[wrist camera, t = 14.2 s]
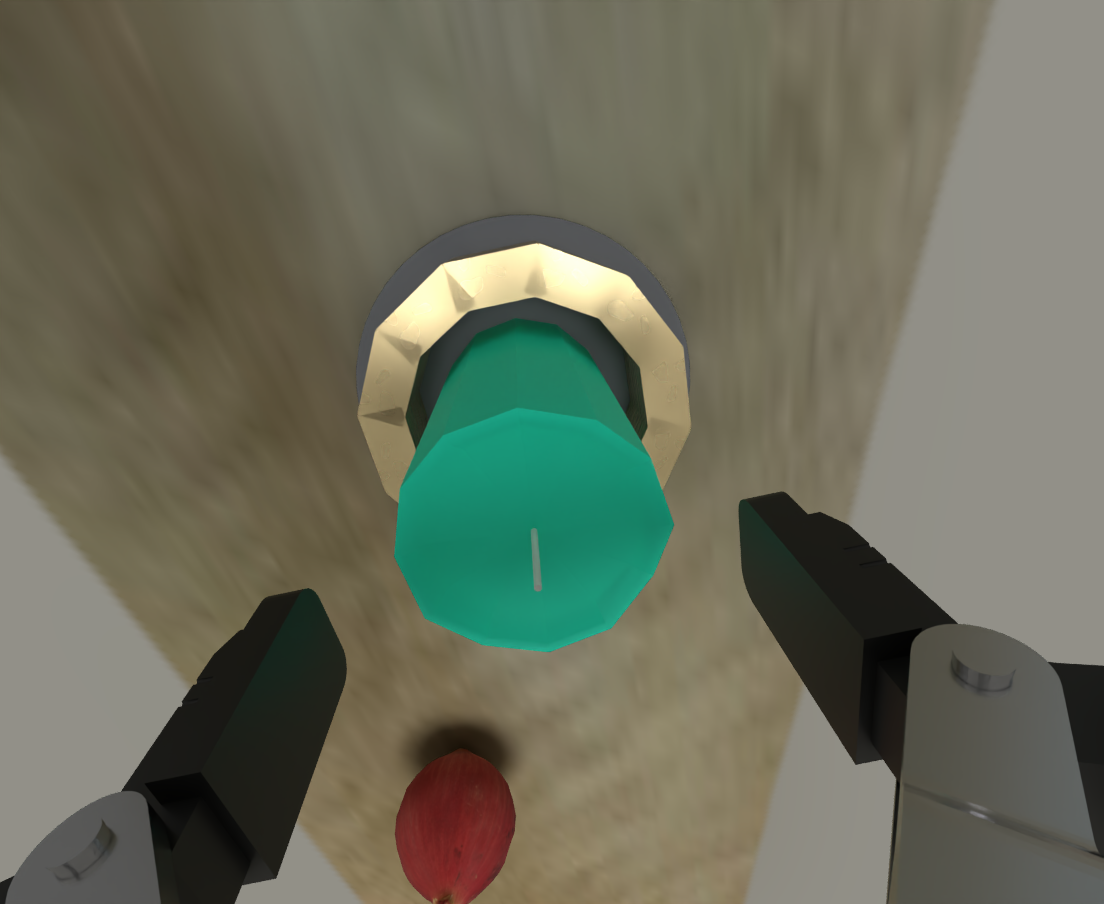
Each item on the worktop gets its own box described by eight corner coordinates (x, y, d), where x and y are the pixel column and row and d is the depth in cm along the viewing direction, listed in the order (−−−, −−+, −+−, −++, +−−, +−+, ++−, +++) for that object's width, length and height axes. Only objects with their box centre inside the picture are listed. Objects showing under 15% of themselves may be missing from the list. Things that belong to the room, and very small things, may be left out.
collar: (430, 540, 23) (419, 583, 20) (341, 281, 19) (311, 291, 16) (678, 489, 23) (700, 525, 20) (647, 216, 19) (670, 214, 16)
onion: (535, 744, 30) (542, 912, 23) (473, 800, 32) (461, 975, 24) (451, 700, 28) (429, 866, 21) (389, 761, 30) (349, 936, 22)
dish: (418, 550, 24) (414, 563, 24) (312, 256, 19) (302, 258, 18) (695, 493, 24) (702, 504, 23) (664, 180, 19) (672, 178, 18)
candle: (510, 490, 22) (508, 747, 11) (414, 380, 20) (299, 566, 9) (629, 409, 21) (752, 608, 10) (541, 284, 19) (580, 365, 8)
